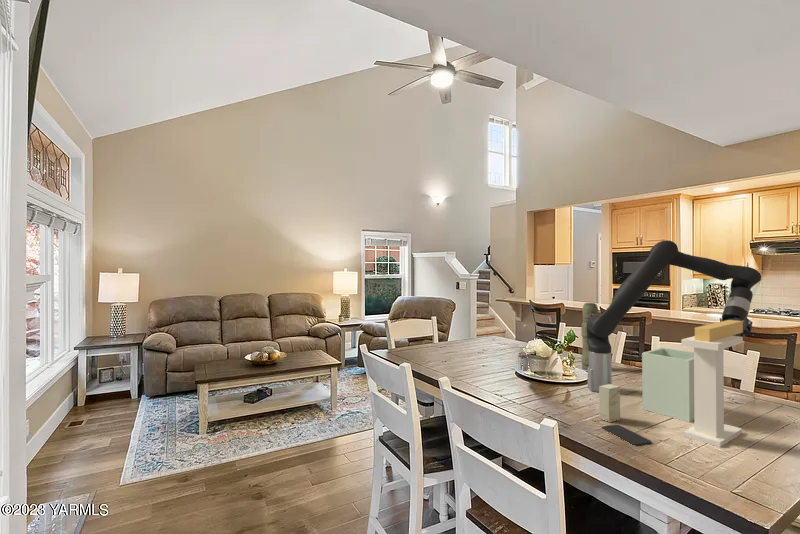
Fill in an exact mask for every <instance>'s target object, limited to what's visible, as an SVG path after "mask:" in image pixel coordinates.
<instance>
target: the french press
mask: <svg viewBox="0 0 800 534" xmlns="http://www.w3.org/2000/svg"><path fill="white" fill-rule="evenodd" d="M523 327H524V328H525V329H524V331H525V342H523V343H520V344H517V348H520V349H523V350H519V351H518V356H517V359H518V363H517V364H518V369H519V370H522V367H523V371H527V370H528V369H529V368H528V366H529V365H528V358H527V355H526V353H525V352H526V351H525V350H524V349H527V348H526V346H527V343H528V342H527V335H526V334H527V333H526V332H527V328H528V324H523ZM518 369H517V370H518Z"/></svg>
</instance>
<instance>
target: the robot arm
mask: <svg viewBox="0 0 800 534" xmlns="http://www.w3.org/2000/svg"><path fill="white" fill-rule="evenodd" d="M678 247H679V246H678V245H677V243H675V242H674V241H672V240H667V239H665V240H661V241H659V242H657V243H656V244H654V245H653V246H652V247H651V248H650V250H649V255H648V256H647V258H646V259H645V260H644V262H643V263H641V265H639V266H638V267H637V268H636V269H635V270H634V271H633V272H632V273H630V274H629V275H628V276H627V278H625V280H624V281H623V282H622V283H621V284H620V285H619V287H618V288H617V290H616V291H615V293H614V295H613V298H612V301H611V303H610V304H609V306H608V307H607V309H605V310H604V311H603V312H602V313H601V314H598V315H594V316H591V317H590V318H589V319H588V321H587V343H588V347H589V366H588V370H587V388H588V389H589V391H590V392H596V393H599V386H602V385H606V384H612V383H613V382H612V380H613V379H612V378H613V373H612V370H613V369H612V365H613V363H612V361H613V360H612V346H611V344H610V340H609V336H611V335H612V334H613V333H614V331H615V330H616V329H617V327H618V325H619V324H620V322H621V321H622V319H623V318H624V317H625V315H626V314H627V313H628V312H629V311H630V310H631V309H632V308H633V306H634V305H635V304H636V303H638V301H639V300H640V299H641V297H642V296H644V294H645V293H646V292H647V290H648V289H649V287H650V286H651V285H652V284H653V283H654V281H655V279H657V277H658V275H659V274H660V273H661V272H662V271H663V270H664V269H665V268H666V267H667V266H668V265H670V266H675V267H679V268H683V269H687V270H689V271H692V272H696V273H699V274H702V275H705V276H708V277H711V278H713V279H717V280H720V281H726V280H729V279H731V282H730V293H729V296H728V299H727V301H726V303H725V305H724V308H723V311H722V315H721V319H722V321H726V320H736V321H743V333H739V334H735V335H734V336H739V337H743V338H744V336H746V335H750V334H751V332H752V327H753V321H752V320H751V319H749V318H748V316H749V312H750V308H751V302H752V300H753V291H752V290H751V289H752V288H753V287H755V286H756V284H758V283H759V282H760V281H761V279H762V274H761V273H760V271H759V270H758V269H756V268H753V267H751V266H745V265H739V264H738V265H736V264H727V263H725V262H722V261H720V260H719V261H718V260H715V259H712V258H708V257H704V256H702V257H701V256H695V255H691V254H688V253H684V252H682V251H679V248H678ZM722 321H721V322H722ZM612 385H613V384H612Z"/></svg>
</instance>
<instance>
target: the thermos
mask: <svg viewBox="0 0 800 534" xmlns="http://www.w3.org/2000/svg"><path fill="white" fill-rule="evenodd" d="M582 306H583V307H582V312H581V313H582V322H581V323H582V324H581V327H580V328H581V337H582V352H581V369H582V370H586V371H588V366H589V347H588V343H587V321H588V319H589V318H590V317H591V316H594V315H599V307H598V305H597V304H596V303H595V302H594V303H593V302H585V303H583V305H582Z"/></svg>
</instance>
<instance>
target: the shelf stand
mask: <svg viewBox="0 0 800 534" xmlns="http://www.w3.org/2000/svg"><path fill="white" fill-rule="evenodd" d="M743 338H744V336H743V337H739V336H735V335H732V336H728V337H725V338H721V339H718V340H714V341H711V342H706V341H699V340H695V335H693V336H690V337H686V338H685V337H684V338H682V339H681V347H682V346H683V347H691V348H693V352H694V419H695V420H694V425H693V426H691V427H690V428H688V429H686V430H683V437H685V438H689V439H691V440H695V441H699V442H701V443H705V444H708V445H712V446H715V447H718V448H722V447H723V446H725V445H726V444H727V443H729V442H731V441H732V440H734V439H735V438H737V437H739V436H740V435H742V434H743V428H741V427H737V426H733V425H729V424H725V421H724V420H725V414H724V413H725V411H724V410H725V408H724V407H725V406H724V405H725V403H724V400H725V399H724V398H725V395H724V394H725V391H724V390H725V389H724V387H725V386H724V385H725V384H724V371H725V370H724V368H725V367H724V350H725V349H728V348H730V347H731V348H732V347H734V346H737V345H741V344H743V342H744V341H743Z"/></svg>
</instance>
